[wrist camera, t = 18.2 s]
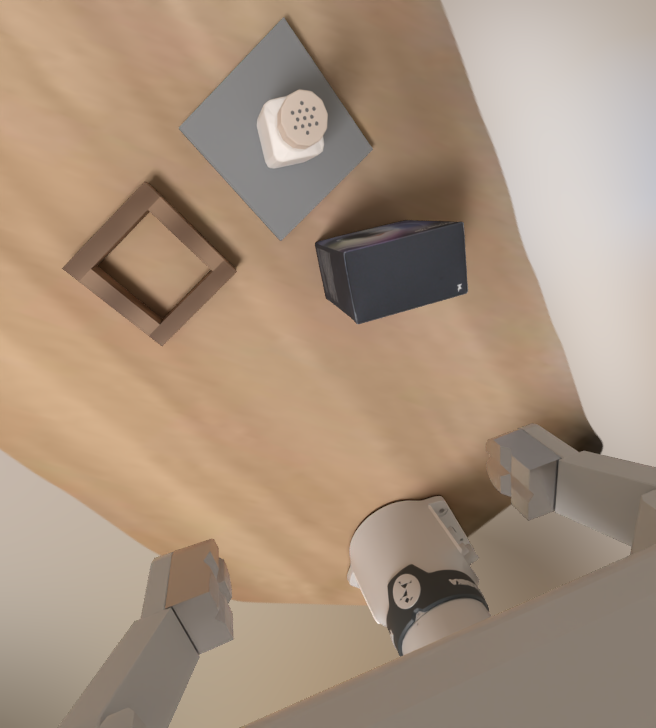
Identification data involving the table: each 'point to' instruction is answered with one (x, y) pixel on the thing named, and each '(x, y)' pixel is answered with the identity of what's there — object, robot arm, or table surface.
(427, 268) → the small box
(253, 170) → the mat
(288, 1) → the table surface
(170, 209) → the collar
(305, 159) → the pepper shaker
